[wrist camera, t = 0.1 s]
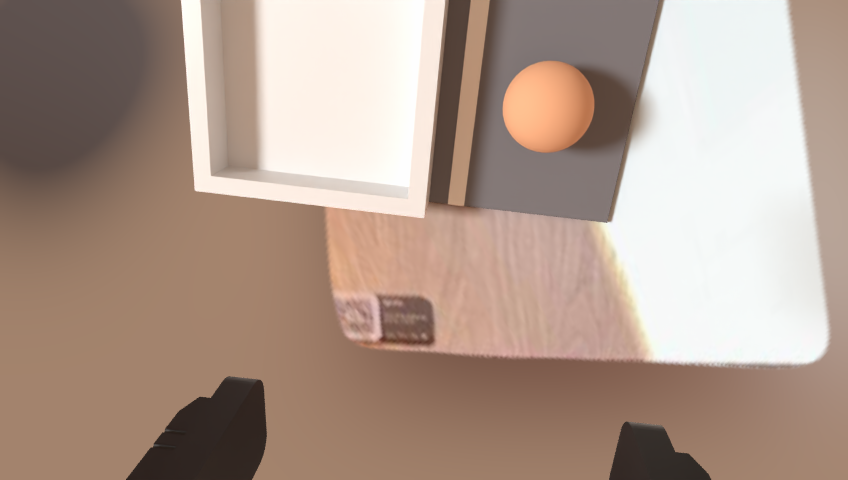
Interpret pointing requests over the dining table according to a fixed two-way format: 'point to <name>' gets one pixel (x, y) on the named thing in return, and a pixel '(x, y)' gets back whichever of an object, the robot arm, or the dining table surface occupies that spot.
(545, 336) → the dining table surface
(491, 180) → the mat
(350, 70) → the tray
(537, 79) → the ball
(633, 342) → the dining table surface
